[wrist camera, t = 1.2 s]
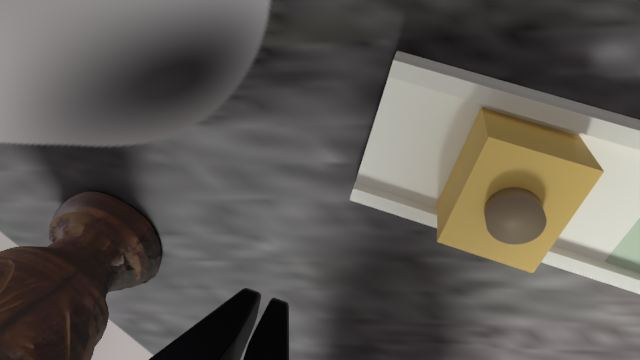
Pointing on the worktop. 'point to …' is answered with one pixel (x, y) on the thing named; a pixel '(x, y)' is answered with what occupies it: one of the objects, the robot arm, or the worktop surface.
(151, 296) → the worktop surface
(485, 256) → the carriage
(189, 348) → the robot arm
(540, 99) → the rail
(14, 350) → the mortar and pestle
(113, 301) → the worktop surface
